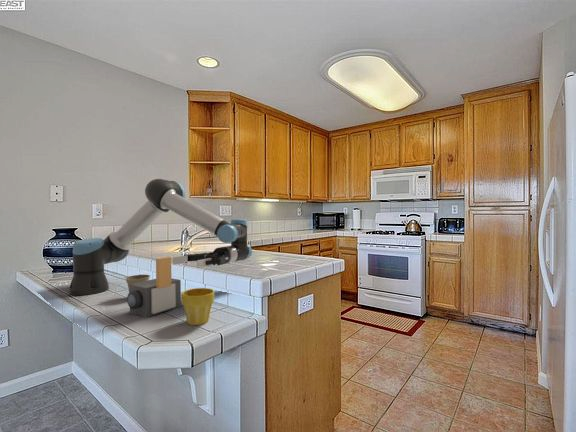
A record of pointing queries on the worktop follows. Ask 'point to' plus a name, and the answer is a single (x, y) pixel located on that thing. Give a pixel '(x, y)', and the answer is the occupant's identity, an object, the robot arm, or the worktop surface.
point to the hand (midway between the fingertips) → (185, 262)
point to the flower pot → (136, 279)
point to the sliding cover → (163, 287)
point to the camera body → (148, 297)
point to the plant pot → (197, 304)
